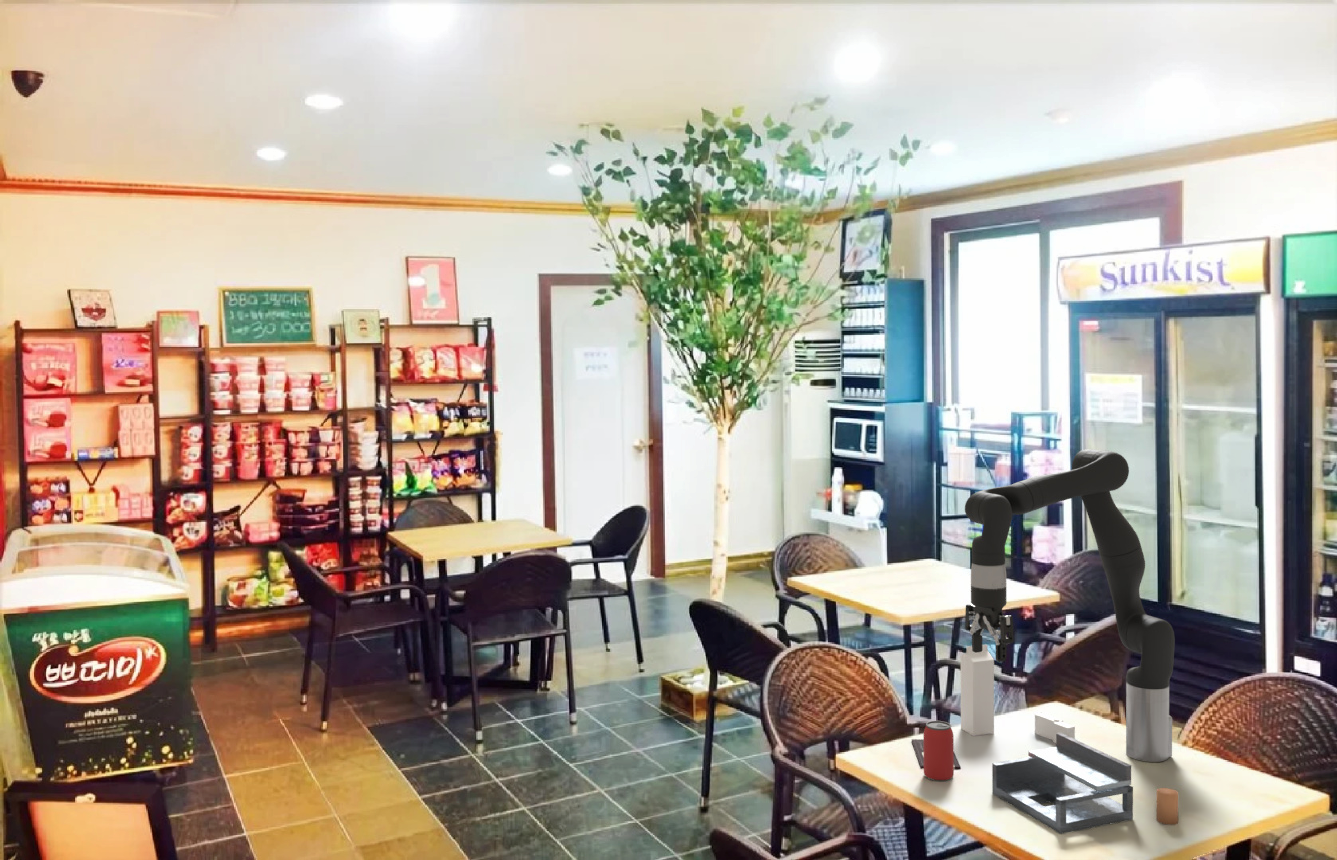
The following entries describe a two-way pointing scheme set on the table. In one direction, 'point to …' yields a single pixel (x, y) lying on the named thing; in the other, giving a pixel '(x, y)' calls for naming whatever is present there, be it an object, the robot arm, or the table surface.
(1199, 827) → the table surface
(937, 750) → the beer can
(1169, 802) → the rounded orange stub
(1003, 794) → the housing
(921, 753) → the chocolate bar
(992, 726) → the milk
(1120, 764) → the cover
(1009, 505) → the robot arm
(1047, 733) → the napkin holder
